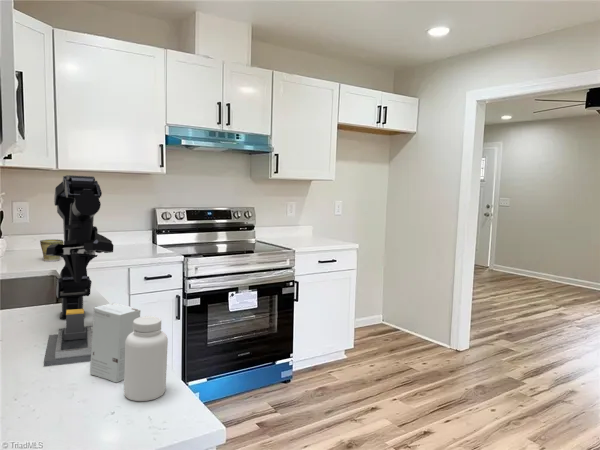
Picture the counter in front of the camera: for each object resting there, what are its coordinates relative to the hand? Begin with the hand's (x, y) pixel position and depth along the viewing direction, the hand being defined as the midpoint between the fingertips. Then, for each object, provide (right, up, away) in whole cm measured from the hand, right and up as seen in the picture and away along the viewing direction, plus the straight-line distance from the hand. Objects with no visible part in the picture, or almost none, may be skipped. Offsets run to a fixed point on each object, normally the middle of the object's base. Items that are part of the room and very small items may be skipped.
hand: (77, 282), depth 112 cm
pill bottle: (+26, -19, -25) cm, 41 cm away
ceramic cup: (-65, -3, +105) cm, 124 cm away
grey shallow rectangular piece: (+2, -16, -5) cm, 17 cm away
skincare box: (+17, -18, -17) cm, 30 cm away
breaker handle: (0, -14, 0) cm, 14 cm away
